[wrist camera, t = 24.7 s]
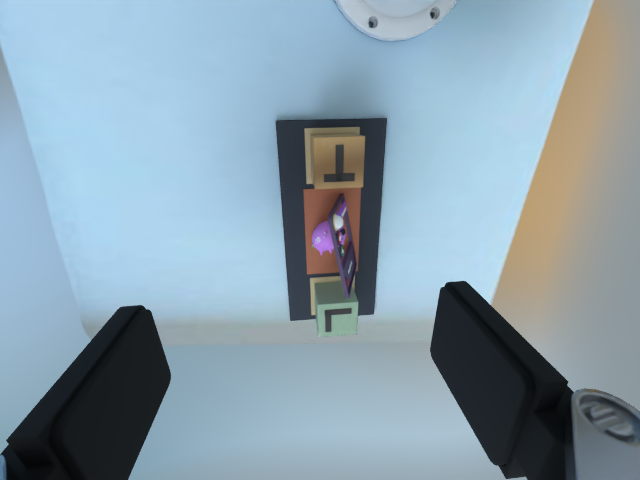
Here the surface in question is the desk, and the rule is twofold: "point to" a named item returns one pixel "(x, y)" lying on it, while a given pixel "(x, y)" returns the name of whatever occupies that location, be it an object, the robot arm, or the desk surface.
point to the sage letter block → (335, 310)
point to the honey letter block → (337, 160)
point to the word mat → (315, 205)
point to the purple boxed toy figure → (338, 243)
